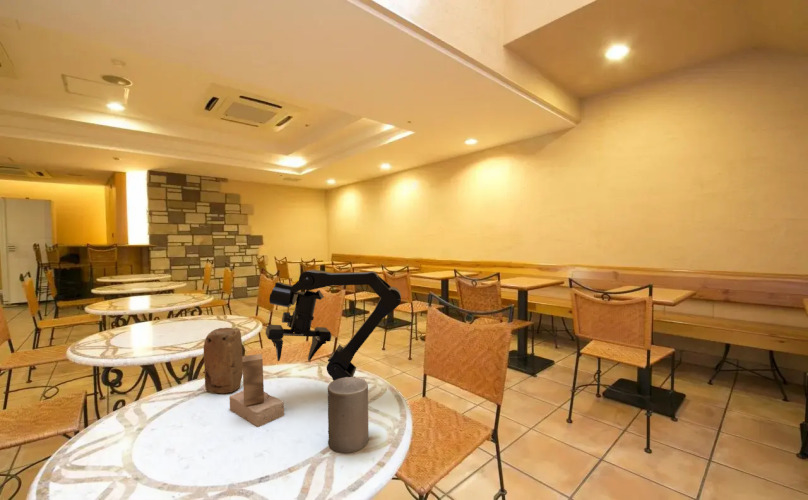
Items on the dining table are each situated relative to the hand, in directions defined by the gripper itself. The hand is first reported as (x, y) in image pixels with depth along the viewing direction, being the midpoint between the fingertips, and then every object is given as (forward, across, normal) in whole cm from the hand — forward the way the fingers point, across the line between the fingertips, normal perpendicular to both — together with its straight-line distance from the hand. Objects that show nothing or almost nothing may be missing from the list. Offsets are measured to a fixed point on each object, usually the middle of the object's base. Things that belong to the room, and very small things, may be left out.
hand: (293, 360), depth 102 cm
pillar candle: (+8, -8, +30) cm, 32 cm away
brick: (+14, +8, +3) cm, 17 cm away
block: (+18, +15, -19) cm, 30 cm away
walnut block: (+10, +10, +4) cm, 15 cm away
